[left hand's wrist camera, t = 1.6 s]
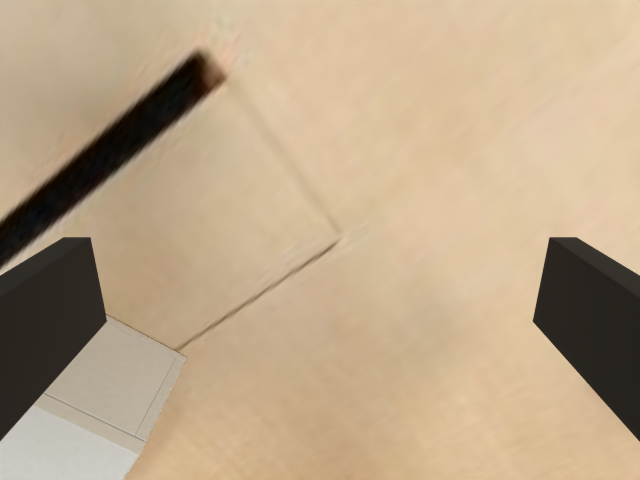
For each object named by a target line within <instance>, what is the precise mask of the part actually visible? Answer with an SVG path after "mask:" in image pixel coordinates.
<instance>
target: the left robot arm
mask: <svg viewBox="0 0 640 480" xmlns="http://www.w3.org/2000/svg"><path fill="white" fill-rule="evenodd" d="M106 322H107V318H106V313H105V308H104V303H103V298H102V293H101V288H100V283H99V278H98V273H97V268H96V263H95V258H94V253H93V248H92V243H91V238H90V237H63V238H62V239H60V240H59V241H57V242H55V243H54V244H52V245H50V246H49V247H47V248H45V249H44V250H42V251H40V252H39V253H37V254H35V255H34V256H32V257H30V258H29V259H27V260H25V261H24V262H22V263H20V264H19V265H17V266H16V267H14V268H12V269H11V270H9V271H7V272H6V273H4V274H2V275H1V276H0V441H1V440H2V439H3V438H4V437H5V436H6V435H7V433H8V432H9V431H10V430H11V429H12V428H13V427H14V426H15V424H16V423H17V422H18V421H19V420H20V419H21V418H22V417H23V415H24V414H25V413H26V412H27V411H28V410H29V409H30V408H31V406H32V405H33V404H34V403H35V402H36V401H37V400H38V399H39V397H40V396H41V395H42V394H43V393H44V392H45V391H46V390H47V388H48V387H49V386H50V385H51V384H52V383H53V382H54V381H55V380H56V378H57V377H58V376H59V375H60V374H61V373H62V372H63V371H64V369H65V368H66V367H67V366H68V365H69V364H70V363H71V362H72V360H73V359H74V358H75V357H76V356H77V355H78V354H79V353H80V351H81V350H82V349H83V348H84V347H85V346H86V345H87V344H88V342H89V341H90V340H91V339H92V338H93V337H94V336H95V335H96V333H97V332H98V331H99V330H100V329H101V328H102V327H103V326H104V324H105V323H106ZM533 322H534V323H535V324H536V326H537V327H538V328H539V329H540V330H541V331H542V332H543V333H544V335H545V336H546V337H547V338H548V339H549V340H550V341H551V342H552V344H553V345H554V346H555V347H556V348H557V349H558V350H559V351H560V353H561V354H562V355H563V356H564V357H565V358H566V359H567V360H568V362H569V363H570V364H571V365H572V366H573V367H574V368H575V369H576V371H577V372H578V373H579V374H580V375H581V376H582V377H583V378H584V380H585V381H586V382H587V383H588V384H589V385H590V386H591V387H592V388H593V390H594V391H595V392H596V393H597V394H598V395H599V396H600V397H601V399H602V400H603V401H604V402H605V403H606V404H607V405H608V406H609V408H610V409H611V410H612V411H613V412H614V413H615V414H616V415H617V417H618V418H619V419H620V420H621V421H622V422H623V423H624V424H625V426H626V427H627V428H628V429H629V430H630V431H631V432H632V433H633V435H634V436H635V437H636V438H637V439H638V440H639V441H640V276H639V275H638V274H636V273H634V272H633V271H631V270H629V269H628V268H626V267H624V266H623V265H621V264H620V263H618V262H616V261H615V260H613V259H611V258H610V257H608V256H606V255H605V254H603V253H601V252H600V251H598V250H596V249H595V248H593V247H591V246H590V245H588V244H586V243H585V242H583V241H581V240H580V239H578V238H577V237H550V238H549V243H548V248H547V253H546V258H545V263H544V268H543V273H542V278H541V283H540V288H539V293H538V298H537V303H536V308H535V313H534V318H533Z"/></svg>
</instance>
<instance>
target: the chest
mask: <svg viewBox="0 0 640 480" xmlns="http://www.w3.org/2000/svg"><path fill="white" fill-rule="evenodd" d="M106 318H107V322H106V323H105V324H104V326H103V327H102V328H101V329H100V330H99V331H98V332H97V333H96V335H95V336H94V337H93V338H92V339H91V340H90V341H89V342H88V344H87V345H86V346H85V347H84V348H83V349H82V350H81V351H80V353H79V354H78V355H77V356H76V357H75V358H74V359H73V360H72V362H71V363H70V364H69V365H68V366H67V367H66V368H65V369H64V371H63V372H62V373H61V374H60V375H59V376H58V377H57V378H56V380H55V381H54V382H53V383H52V384H51V385H50V386H49V387H48V388H47V390H46V391H45V392H44V393H43V394H45V395H47V396H50V397H52V398H54V399H56V400H58V401H60V402H62V403H64V404H66V405H68V406H71V407H73V408H75V409H77V410H79V411H81V412H83V413H85V414H87V415H89V416H92V417H94V418H96V419H98V420H100V421H102V422H104V423H106V424H108V425H110V426H113V427H115V428H117V429H119V430H121V431H123V432H125V433H127V434H129V435H131V436H134V437H136V438H138V439H140V440H142V441H144V442H145V443H146V441H147V439H148V437H149V435H150V433H151V431H152V429H153V427H154V425H155V423H156V421H157V419H158V417H159V415H160V412H161V410H162V408H163V406H164V404H165V402H166V400H167V398H168V396H169V394H170V392H171V390H172V388H173V386H174V384H175V382H176V380H177V378H178V375H179V373H180V371H181V369H182V367H183V365H184V363H185V361H186V359H187V357H185V356H183V355H181V354H180V353H178V352H176V351H174V350H172V349H170V348H168V347H166V346H164V345H163V344H161V343H159V342H157V341H155V340H153V339H151V338H149V337H147V336H146V335H144V334H142V333H140V332H138V331H136V330H134V329H132V328H130V327H129V326H127V325H125V324H123V323H121V322H119V321H117V320H115V319H113V318H112V317H110V316H108V315H106Z"/></svg>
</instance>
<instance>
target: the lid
mask: <svg viewBox="0 0 640 480" xmlns="http://www.w3.org/2000/svg"><path fill="white" fill-rule="evenodd" d="M144 445H145V442H144V441H142V440H140V439H138V438H136V437H134V436H131V435H129V434H127V433H125V432H123V431H121V430H119V429H117V428H115V427H113V426H110V425H108V424H106V423H104V422H102V421H100V420H98V419H96V418H94V417H92V416H89V415H87V414H85V413H83V412H81V411H79V410H77V409H75V408H73V407H71V406H68V405H66V404H64V403H62V402H60V401H58V400H56V399H54V398H52V397H50V396H47V395H45V394H42V395H41V396H40V397H39V399H38V400H37V401H36V402H35V403H34V404H33V405H32V406H31V408H30V409H29V410H28V411H27V412H26V413H25V414H24V415H23V417H22V418H21V419H20V420H19V421H18V422H17V423H16V424H15V426H14V427H13V428H12V429H11V430H10V431H9V432H8V433H7V435H6V436H5V437H4V438H3V439H2V440H1V441H0V480H123V479H124V477H125V476H126V474H127V473H128V471H129V470H130V469H131V467H132V466H133V464H134V463H135V461H136V460H137V458H138V457H139V456H140V454H141V451H142V449H143V447H144Z"/></svg>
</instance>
